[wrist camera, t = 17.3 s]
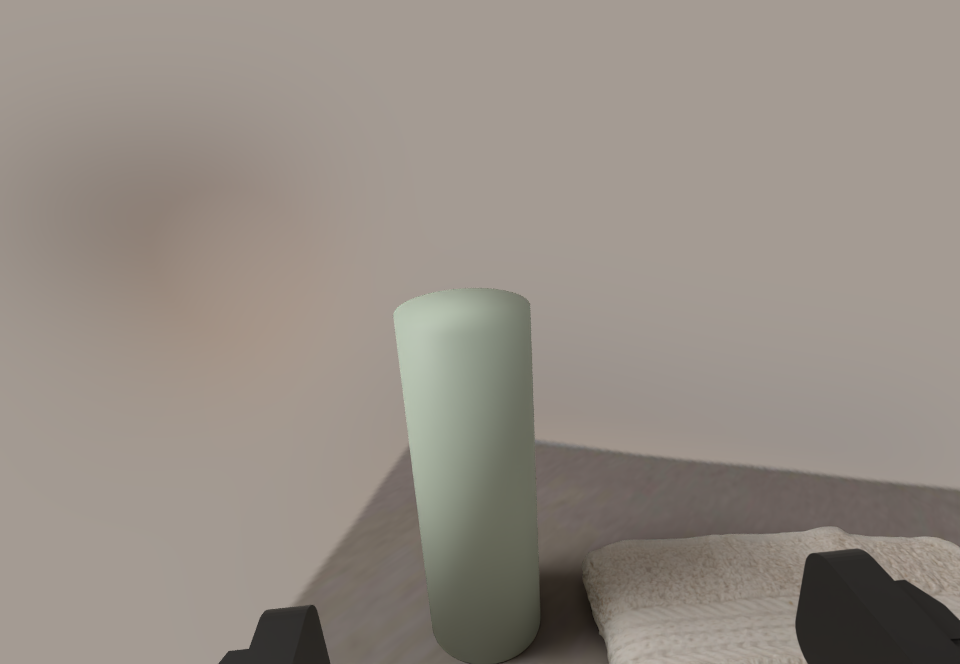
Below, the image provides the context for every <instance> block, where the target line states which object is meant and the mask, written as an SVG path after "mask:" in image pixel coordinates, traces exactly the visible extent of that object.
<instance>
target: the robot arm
mask: <svg viewBox="0 0 960 664" xmlns="http://www.w3.org/2000/svg"><path fill="white" fill-rule="evenodd" d="M795 629H796V635H797V639H798V643H799V646H800V649H801V651H802V654H803V656H804V658H805V660H806V662H807V664H960V620H959V619H958V618H957V617H956V616H955V615H954V614H953V613H952V612H951V611H950V610H949V609H948V608H947V607H946V606H945V605H944V604H943V603H941V602H940V601H938V600H936V599H935V598H933V597H932V596H930V595H929V594H927V593H925V592H924V591H922V590H921V589H919V588H918V587H916V586H915V585H913V584H911V583H910V582H908V581H907V580H896V581H895V580H894V579H893V578H892V577H891V576H890V575H889V574H888V573H887V572H886V571H885V570H884V569H883V568H882V567H881V566H880V565H879V564H878V562H877V561H876V560H875V559H874V558H873V557H872V556H871V555H870V554H868V553H867V552H866V551H864V550H862V549H858V548H856V549H846V550H837V551H827V552H818V553H811V554H809V555H808V556H807V558H806V561H805V566H804V572H803V578H802V584H801V589H800V595H799V601H798V607H797V613H796V619H795ZM219 664H330V660H329V656H328V652H327V648H326V644H325V640H324V636H323V632H322V628H321V624H320V620H319V616H318V612H317V610H316V607H315V606H314V605H308V606H298V607H289V608H280V609H270V610H266V611H265V612H264V613H263V614H262V615H261V617H260V620H259V622H258V625H257V628H256V631H255V633H254V636H253V639H252V642H251V645H250V648H249V649H244V650H235V651H228V653H227V654H226V655H225V656H224V657H223V659H222V660H221V661H220V662H219Z"/></svg>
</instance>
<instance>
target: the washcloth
mask: <svg viewBox="0 0 960 664" xmlns="http://www.w3.org/2000/svg"><path fill="white" fill-rule="evenodd" d="M856 548H858V549H862V550H864V551H866V552H867V553H868V554H870V555H871V556H872V557H873V558H874V559H875V560H876V561H877V562H878V564H879V565H880V566H881V567H882V568H883V569H884V570H885V571H886V572H887V573H888V574H889V575H890V576H891V577H892V578H893V579H894V580H895V581H896V580H907V581H908V582H910V583H911V584H913V585H915V586H916V587H918V588H919V589H921V590H922V591H924V592H925V593H927V594H929V595H930V596H932V597H933V598H935V599H936V600H938V601H940V602H941V603H943V604H944V605H945V606H946V607H947V608H948V609H949V610H950V611H951V612H952V613H953V614H954V615H955V616H956V617H957V618H958V619H959V620H960V547H958V546H957V545H955V544H954V543H952V542H950V541H946V540H943V539H940V538H936V537H914V538H905V537H869V536H863V535H854V534H848V533H846V532H844V531H843V530H841V529H840V528H838V527H831V526H829V527H820V528H815V529H812V530H809V531H805V532H789V533H779V534H726V535H723V536H722V535H706V536H702V537H692V538H683V539H661V540H657V539H651V540H625V541H619V542H617V543H613V544H610V545H607V546H604V547H602V548H600V549H597V550H594V551H592V552H589V553H588V554H587V556H586V558H585V559H584V561H583V563H582V569H583V574H582V576H583V583H584V585H585V588H586V591H587V595H588V599H589V601H590V604H591V608H592V611H593V612H592V615H593V617H594V620H595V622H596V624H597V626H598V628H599V635H601V636H602V637H603V639H604V640H605V644H606V647H607V651H608V660H609V664H807V662H806V660H805V658H804V656H803V654H802V651H801V649H800V646H799V643H798V639H797V635H796V629H795V619H796V613H797V607H798V601H799V595H800V589H801V584H802V578H803V572H804V566H805V561H806V558H807V556H808V555H809V554H811V553H818V552H827V551H837V550H846V549H856Z"/></svg>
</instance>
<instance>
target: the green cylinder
mask: <svg viewBox="0 0 960 664" xmlns="http://www.w3.org/2000/svg"><path fill="white" fill-rule="evenodd" d="M393 317H394V325H395V333H396V340H397V348H398V356H399V365H400V373H401V380H402V389H403V397H404V405H405V413H406V421H407V429H408V437H409V445H410V453H411V461H412V469H413V477H414V485H415V493H416V501H417V509H418V517H419V525H420V533H421V541H422V549H423V557H424V565H425V573H426V581H427V589H428V597H429V605H430V613H431V621H432V628H433V633H434V636H435V638H436V640H437V642H438V643H439V644H440V646H441V647H442V648H443V649H444V650H445V651H446V652H447V653H448V654H450V655H451V656H453V657H455V658H456V659H458V660H461V661H464V662H467V663H471V664H497V663H501V662H504V661H507V660H510V659H512V658H514V657H515V656H517V655H519V654H520V653H522V652H523V651H524V650H525V649H526V648H527V647H528V646H529V645H530V644H531V643H532V642H533V640H534V638H535V637H536V635H537V632H538V630H539V626H540V619H541V616H540V586H539V557H538V527H537V497H536V467H535V437H534V407H533V380H532V379H533V377H532V348H531V321H530V320H531V318H530V303H529V301H528V300H527V299H526V298H524V297H523V296H521V295H518V294H516V293H513V292H509V291H504V290H498V289H488V288H464V289H453V290H445V291H439V292H434V293H429V294H426V295H422V296H419V297H416V298H413V299H411V300H409V301H407V302H405V303H403V304H402V305H400V306H399V307H398V308H397V309H396V310H395V312H394V315H393Z"/></svg>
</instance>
